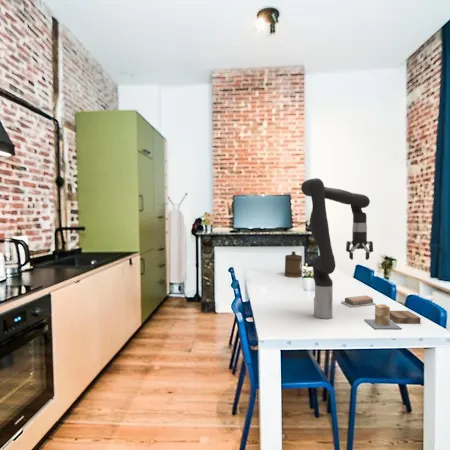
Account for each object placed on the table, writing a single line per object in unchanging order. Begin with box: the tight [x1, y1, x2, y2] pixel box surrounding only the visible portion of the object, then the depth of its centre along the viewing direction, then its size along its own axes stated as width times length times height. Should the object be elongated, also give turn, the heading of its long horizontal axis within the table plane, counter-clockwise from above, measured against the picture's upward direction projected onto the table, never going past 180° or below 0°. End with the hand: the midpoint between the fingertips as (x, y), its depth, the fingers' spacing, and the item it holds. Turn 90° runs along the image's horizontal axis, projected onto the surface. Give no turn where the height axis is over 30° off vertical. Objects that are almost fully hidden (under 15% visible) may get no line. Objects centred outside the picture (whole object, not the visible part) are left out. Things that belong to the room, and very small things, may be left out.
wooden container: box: [284, 250, 303, 278], centre depth 293 cm, size 15×15×22 cm
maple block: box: [374, 304, 391, 325], centre depth 166 cm, size 5×5×9 cm
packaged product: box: [340, 295, 377, 309], centre depth 203 cm, size 18×5×10 cm
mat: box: [364, 318, 402, 330], centre depth 166 cm, size 13×13×1 cm
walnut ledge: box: [390, 310, 421, 325], centre depth 174 cm, size 12×12×3 cm
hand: (359, 259), depth 186 cm, fingers open, 8 cm apart
